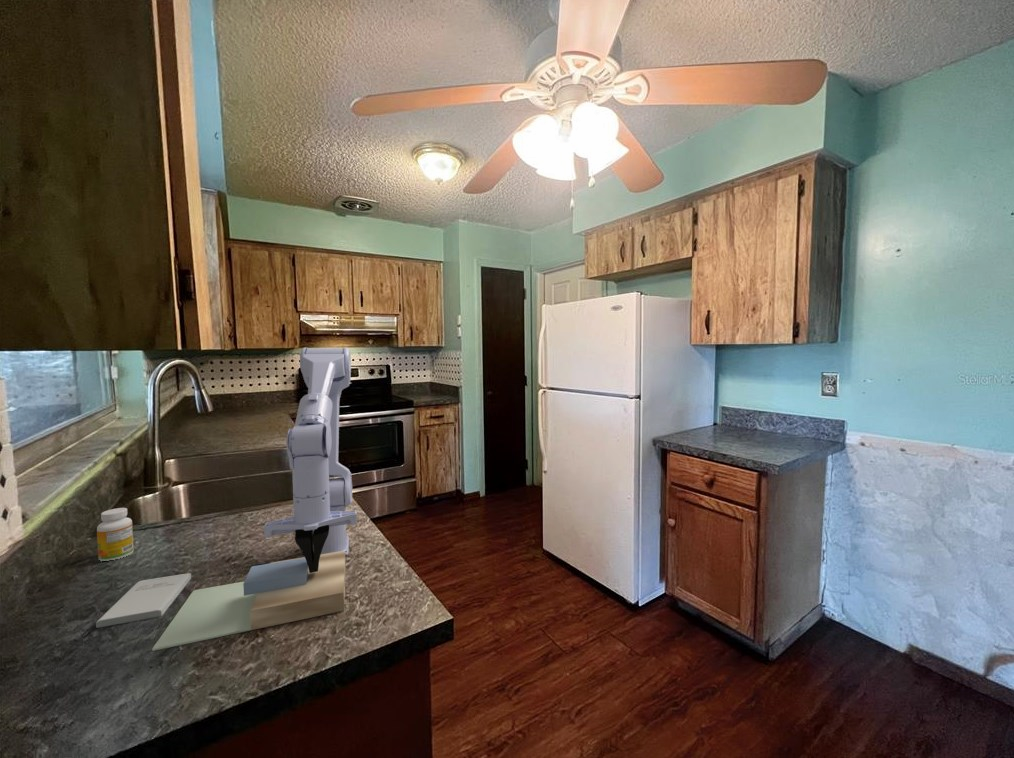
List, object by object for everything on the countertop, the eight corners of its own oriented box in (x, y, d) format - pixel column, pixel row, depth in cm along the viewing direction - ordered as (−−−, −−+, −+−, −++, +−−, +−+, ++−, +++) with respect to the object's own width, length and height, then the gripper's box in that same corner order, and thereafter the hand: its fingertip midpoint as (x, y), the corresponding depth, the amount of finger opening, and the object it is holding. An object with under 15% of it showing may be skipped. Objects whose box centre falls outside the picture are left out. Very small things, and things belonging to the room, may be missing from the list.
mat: (193, 591, 72) (193, 590, 72) (271, 578, 76) (270, 576, 76) (152, 651, 57) (152, 649, 57) (251, 630, 61) (251, 628, 61)
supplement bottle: (99, 556, 86) (97, 510, 86) (133, 548, 90) (131, 504, 90) (97, 565, 82) (94, 517, 82) (133, 556, 86) (131, 511, 86)
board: (271, 578, 76) (270, 562, 76) (345, 565, 81) (345, 550, 81) (251, 630, 61) (250, 610, 61) (344, 610, 66) (343, 592, 66)
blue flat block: (252, 577, 71) (251, 566, 71) (309, 567, 74) (309, 557, 74) (243, 595, 65) (243, 583, 65) (306, 584, 68) (305, 572, 68)
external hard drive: (96, 631, 62) (137, 589, 74) (161, 619, 65) (191, 580, 77) (95, 621, 62) (137, 580, 74) (161, 609, 65) (191, 571, 77)
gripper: (258, 506, 65) (261, 590, 65) (356, 494, 70) (358, 572, 70) (267, 493, 71) (270, 569, 72) (355, 483, 76) (357, 554, 77)
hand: (314, 569), depth 71 cm, fingers closed
